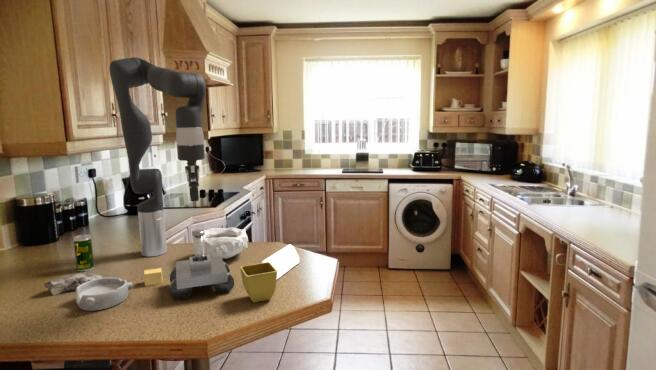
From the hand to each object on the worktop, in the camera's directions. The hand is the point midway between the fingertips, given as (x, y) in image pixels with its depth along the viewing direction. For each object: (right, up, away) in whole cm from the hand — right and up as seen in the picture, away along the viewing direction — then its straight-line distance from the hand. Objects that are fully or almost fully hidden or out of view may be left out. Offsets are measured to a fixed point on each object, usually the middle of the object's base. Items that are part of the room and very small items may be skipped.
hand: (194, 198), depth 121 cm
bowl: (-1, -24, +34) cm, 41 cm away
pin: (+1, -21, +4) cm, 21 cm away
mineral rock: (-40, -29, +7) cm, 49 cm away
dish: (-25, -30, -3) cm, 39 cm away
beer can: (-46, -26, +23) cm, 58 cm away
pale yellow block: (-16, -27, +10) cm, 33 cm away
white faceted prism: (+22, -26, +18) cm, 39 cm away
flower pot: (+20, -29, -3) cm, 35 cm away
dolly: (+1, -28, +5) cm, 28 cm away
